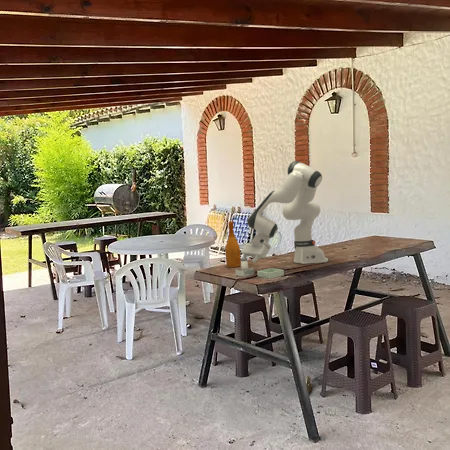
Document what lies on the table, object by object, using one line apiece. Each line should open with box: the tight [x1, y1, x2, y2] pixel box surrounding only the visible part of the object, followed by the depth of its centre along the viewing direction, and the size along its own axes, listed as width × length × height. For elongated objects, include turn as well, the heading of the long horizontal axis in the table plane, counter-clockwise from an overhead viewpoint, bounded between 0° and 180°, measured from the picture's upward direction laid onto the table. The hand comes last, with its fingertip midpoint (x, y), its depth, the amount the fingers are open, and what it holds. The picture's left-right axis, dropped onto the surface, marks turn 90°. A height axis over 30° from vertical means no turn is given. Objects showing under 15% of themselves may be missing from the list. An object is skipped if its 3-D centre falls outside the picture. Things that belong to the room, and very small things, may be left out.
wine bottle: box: [224, 221, 242, 268], centre depth 337 cm, size 10×10×30 cm
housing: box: [235, 267, 255, 278], centre depth 308 cm, size 8×8×4 cm
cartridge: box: [240, 257, 249, 270], centre depth 307 cm, size 4×4×10 cm
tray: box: [256, 267, 285, 279], centre depth 300 cm, size 11×11×3 cm
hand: (247, 261), depth 308 cm, fingers open, 8 cm apart
